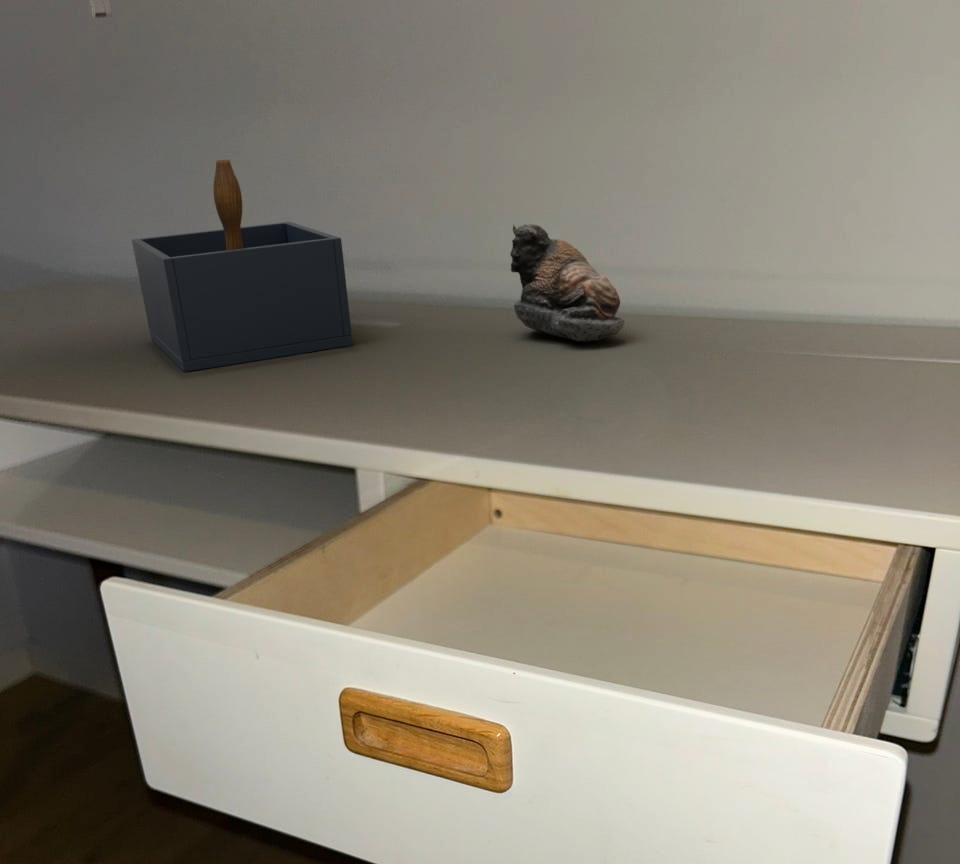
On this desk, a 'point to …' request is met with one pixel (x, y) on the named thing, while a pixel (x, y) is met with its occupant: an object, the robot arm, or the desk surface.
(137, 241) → the bin
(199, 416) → the desk surface
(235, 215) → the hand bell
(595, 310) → the bison figurine
